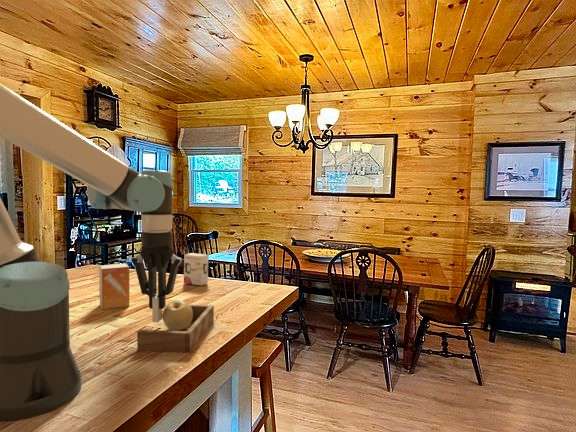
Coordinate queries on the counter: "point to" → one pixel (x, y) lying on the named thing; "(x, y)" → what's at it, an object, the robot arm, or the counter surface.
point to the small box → (114, 285)
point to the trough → (178, 333)
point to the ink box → (196, 269)
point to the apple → (177, 315)
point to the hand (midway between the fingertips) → (157, 320)
